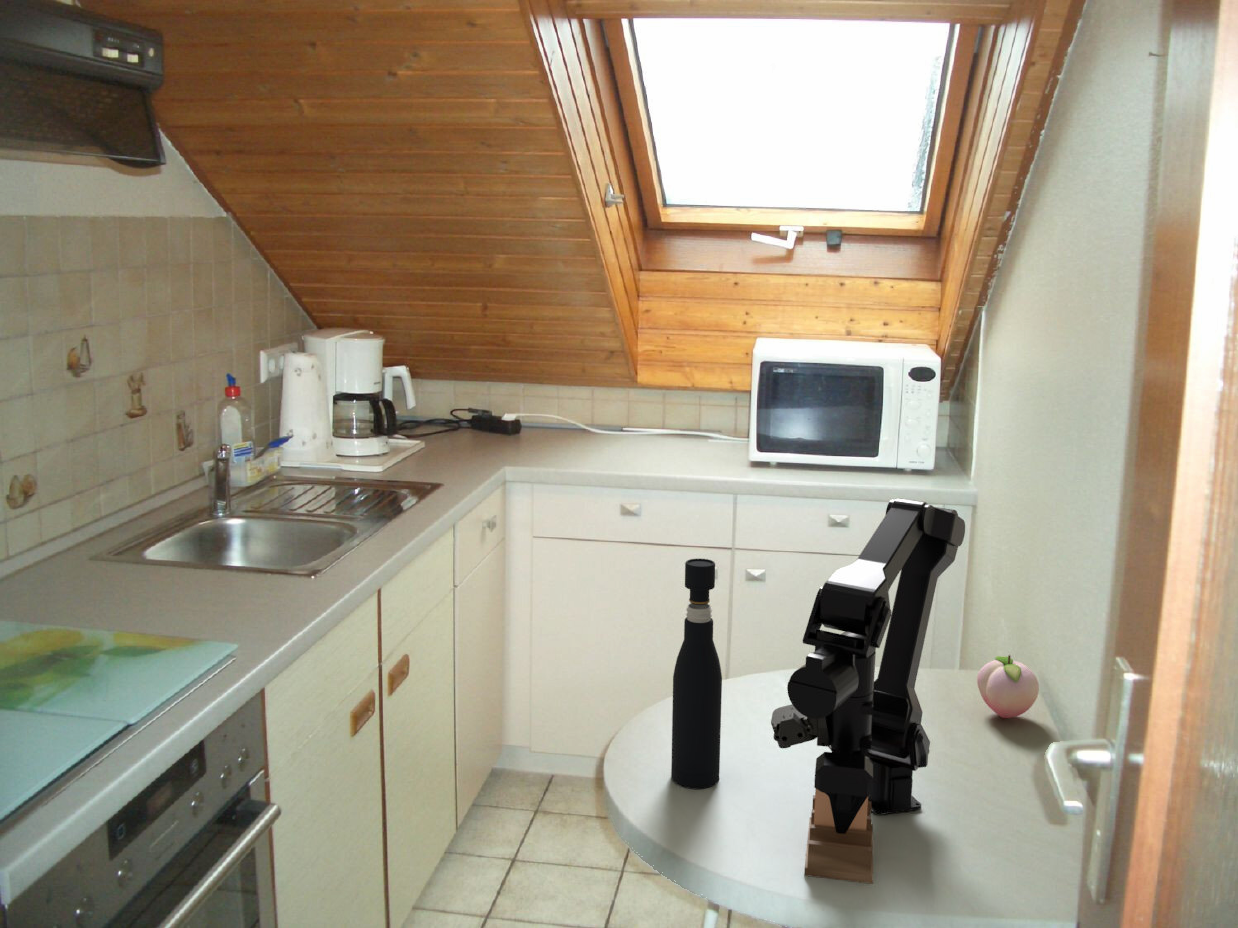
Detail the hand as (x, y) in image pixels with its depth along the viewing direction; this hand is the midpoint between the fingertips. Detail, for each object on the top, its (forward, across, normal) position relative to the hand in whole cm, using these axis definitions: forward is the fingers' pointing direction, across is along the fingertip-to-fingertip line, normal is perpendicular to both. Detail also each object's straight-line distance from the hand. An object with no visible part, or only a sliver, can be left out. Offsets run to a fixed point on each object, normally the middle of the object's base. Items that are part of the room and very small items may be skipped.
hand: (841, 812), depth 133 cm
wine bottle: (+5, -15, -19) cm, 25 cm away
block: (+4, 0, 0) cm, 4 cm away
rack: (+5, 0, 0) cm, 5 cm away
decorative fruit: (+5, -45, +24) cm, 51 cm away
